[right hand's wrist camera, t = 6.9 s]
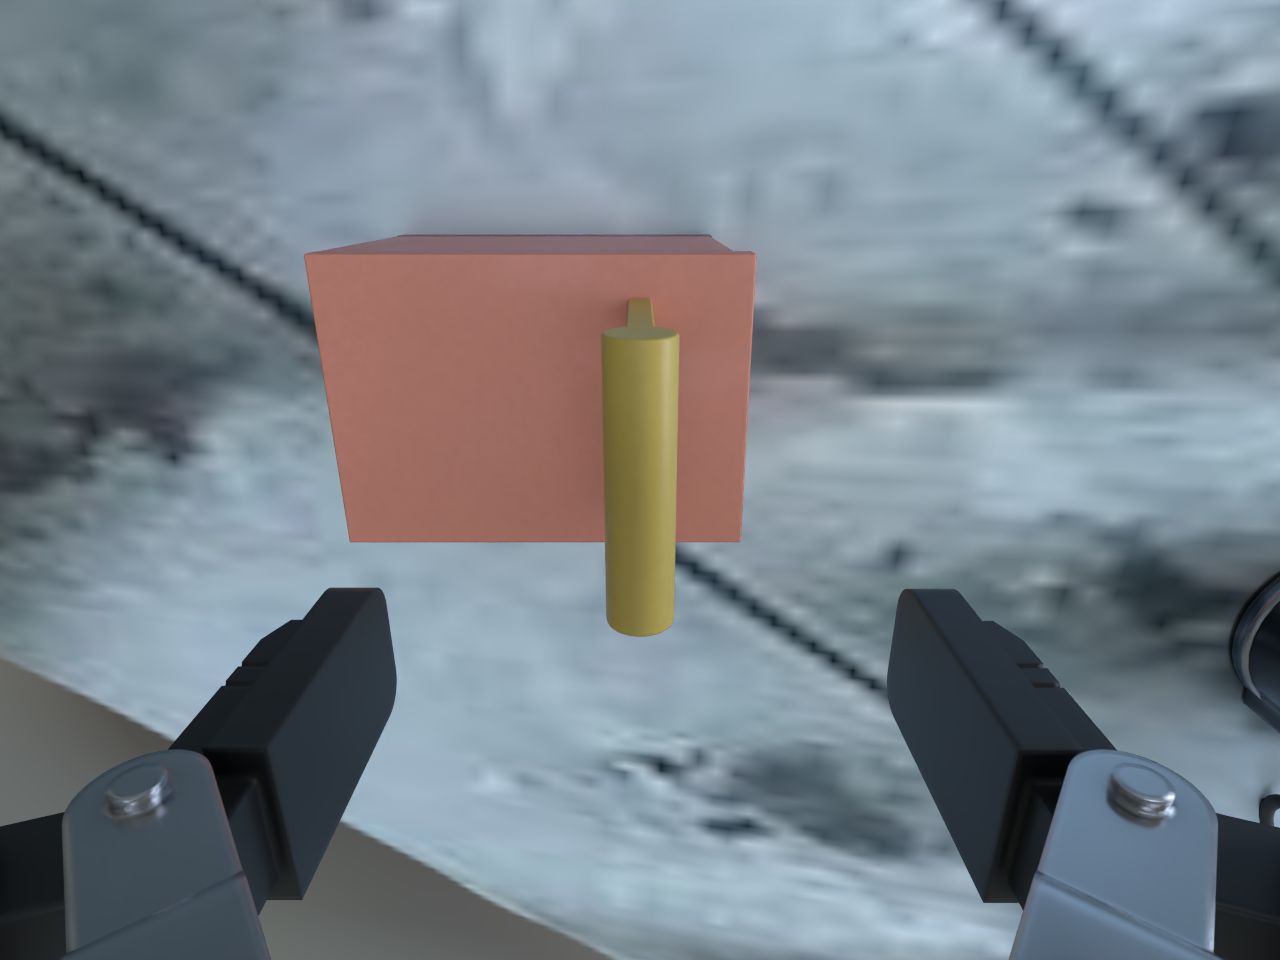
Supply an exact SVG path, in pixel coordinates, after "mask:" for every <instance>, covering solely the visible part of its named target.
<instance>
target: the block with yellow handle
mask: <svg viewBox="0 0 1280 960" xmlns="http://www.w3.org/2000/svg"><path fill="white" fill-rule="evenodd" d="M304 258H305V264H306V271H307V277H308V283H309V289H310V296H311V302H312V308H313V314H314V321H315V327H316V333H317V339H318V346H319V352H320V358H321V364H322V370H323V377H324V383H325V389H326V395H327V402H328V408H329V414H330V420H331V427H332V433H333V439H334V445H335V452H336V458H337V464H338V470H339V477H340V483H341V489H342V495H343V502H344V508H345V514H346V520H347V527H348V533H349V539H350V542H605V564H606V616H607V621H608V623H609V625H610V626H611V627H612V628H613V629H614V630H616V631H617V632H619V633H622V634H625V635H629V636H640V637H641V636H651V635H655V634H658V633H661V632H663V631H665V630H666V629H668V628H669V627H670V626H671V624H672V622H673V620H674V587H675V542H740V541H741V526H742V508H743V490H744V472H745V454H746V436H747V418H748V400H749V382H750V364H751V346H752V328H753V310H754V292H755V274H756V254H755V253H753V252H751V251H318V252H312V253H307V254H304Z"/></svg>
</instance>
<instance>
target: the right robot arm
mask: <svg viewBox="0 0 1280 960" xmlns="http://www.w3.org/2000/svg"><path fill="white" fill-rule="evenodd" d="M1232 657H1233V664H1234V668H1235V671H1236V673H1237V675H1238V677H1239V679H1240V680H1241V682H1242V683H1243V684H1244V685H1245V687H1247V690H1246V695H1245V698H1244V703H1245V705H1247V706H1248V707H1249V708H1250V709H1251V710H1253V711H1254V712H1255V713H1256V714H1257V715H1258V716H1260V717H1261V718H1262V719H1263V720H1264V721H1266V722H1267V723H1268V724H1269V725H1270V726H1271V727H1273V728H1274V729H1275V730H1276V731H1277V732H1279V733H1280V576H1279V577H1278V578H1277V579H1275V580H1274V581H1273V582H1272V583H1270V584H1269V585H1268V586H1267V587H1266V588H1265V589H1264V590H1263V591H1262V592H1261V593H1260V594H1259V595H1258V596H1257V597H1256V598H1255V599H1254V601H1253V602H1252V603H1251V604H1250V606H1249V607H1248V609H1247V610H1246V612H1245V613H1244V615H1243V617H1242V618H1241V620H1240V623H1239V625H1238V627H1237V630H1236V633H1235V636H1234V640H1233V647H1232ZM396 684H397V677H396V667H395V660H394V653H393V646H392V639H391V632H390V626H389V619H388V612H387V605H386V600H385V596H384V594H383V592H382V590H381V589H380V588H329V589H327V590H326V591H325V592H324V593H323V594H322V596H321V597H320V598H319V599H318V601H317V602H316V603H315V605H314V606H313V607H312V608H311V610H310V611H309V612H308V613H307V615H306V616H305V617H304V619H303V620H290V621H289V622H287V623H286V624H284V625H283V626H281V627H280V628H278V629H276V630H275V631H273V632H272V633H270V634H269V635H267V636H266V637H264V638H262V639H261V640H260V641H259V642H258V644H257V645H256V646H255V647H254V648H253V650H252V651H251V652H250V653H249V654H248V655H247V657H246V658H245V659H244V660H243V661H242V666H241V667H237V668H236V670H235V671H234V672H233V673H232V674H231V676H230V677H229V678H228V679H227V680H226V685H225V686H221V687H220V689H219V690H218V691H217V692H216V693H215V694H214V696H213V697H212V698H211V699H210V700H209V702H208V703H207V704H206V705H205V706H204V707H203V709H202V710H201V711H200V712H199V713H198V715H197V716H196V717H195V718H194V719H193V720H192V722H191V723H190V724H189V725H188V726H187V728H186V729H185V730H184V731H183V732H182V733H181V735H180V736H179V737H178V738H177V739H176V741H175V742H174V743H173V744H172V745H171V747H170V748H169V749H168V750H164V751H158V752H153V753H149V754H145V755H142V756H139V757H136V758H133V759H131V760H128V761H126V762H123V763H121V764H119V765H117V766H115V767H113V768H111V769H110V770H108V771H106V772H105V773H103V774H101V775H100V776H98V777H97V778H96V779H94V780H93V781H91V782H90V783H89V784H88V785H86V786H85V787H84V788H83V789H82V790H81V791H80V792H79V793H78V794H77V795H76V796H75V797H74V798H73V800H72V801H71V802H70V804H69V805H68V807H67V809H66V811H65V812H63V813H58V814H54V815H50V816H45V817H41V818H36V819H32V820H27V821H23V822H19V823H14V824H10V825H5V826H1V827H0V960H271V957H270V954H269V950H268V947H267V944H266V941H265V937H264V934H263V931H262V927H261V924H260V921H259V917H258V916H259V914H260V912H261V910H262V908H263V906H264V904H265V902H266V900H302V899H303V897H304V895H305V893H306V890H307V888H308V886H309V884H310V882H311V880H312V878H313V876H314V874H315V872H316V870H317V867H318V865H319V863H320V861H321V859H322V857H323V855H324V853H325V851H326V849H327V846H328V844H329V842H330V840H331V838H332V836H333V834H334V832H335V830H336V827H337V826H338V823H339V821H340V819H341V817H342V815H343V813H344V811H345V809H346V807H347V805H348V802H349V800H350V798H351V796H352V794H353V792H354V790H355V788H356V786H357V784H358V782H359V779H360V777H361V775H362V773H363V771H364V769H365V767H366V765H367V763H368V761H369V758H370V756H371V754H372V752H373V750H374V748H375V746H376V744H377V742H378V740H379V738H380V735H381V733H382V731H383V729H384V727H385V725H386V723H387V721H388V719H389V717H390V714H391V712H392V709H393V705H394V701H395V695H396ZM887 690H888V699H889V704H890V708H891V711H892V714H893V716H894V718H895V721H896V723H897V725H898V727H899V729H900V731H901V733H902V735H903V737H904V739H905V741H906V743H907V745H908V747H909V750H910V752H911V754H912V756H913V758H914V760H915V762H916V764H917V766H918V768H919V770H920V772H921V774H922V776H923V779H924V781H925V783H926V785H927V787H928V789H929V791H930V793H931V795H932V797H933V799H934V801H935V803H936V805H937V808H938V810H939V812H940V814H941V816H942V818H943V820H944V822H945V824H946V826H947V828H948V830H949V832H950V834H951V836H952V839H953V841H954V843H955V845H956V847H957V849H958V851H959V853H960V855H961V857H962V859H963V861H964V863H965V865H966V868H967V870H968V872H969V874H970V876H971V878H972V880H973V882H974V884H975V886H976V888H977V890H978V892H979V894H980V897H981V899H982V901H983V903H1019V904H1020V905H1021V907H1022V909H1023V914H1022V917H1021V921H1020V924H1019V927H1018V931H1017V934H1016V937H1015V940H1014V944H1013V947H1012V950H1011V954H1010V957H1009V960H1280V828H1278V827H1274V821H1273V817H1274V812H1275V811H1276V810H1277V809H1279V808H1280V795H1279V794H1273V795H1269V796H1267V797H1266V798H1265V799H1263V801H1262V802H1261V804H1260V808H1259V818H1260V823H1256V822H1252V821H1247V820H1243V819H1239V818H1234V817H1230V816H1225V815H1222V814H1218V813H1215V811H1214V808H1213V807H1212V805H1211V804H1210V802H1209V801H1208V800H1207V798H1206V797H1205V796H1204V795H1203V794H1202V793H1201V792H1200V791H1199V790H1198V789H1197V788H1196V787H1195V786H1194V785H1192V784H1191V783H1190V782H1189V781H1187V780H1186V779H1185V778H1183V777H1182V776H1180V775H1179V774H1177V773H1175V772H1174V771H1172V770H1170V769H1169V768H1167V767H1165V766H1163V765H1161V764H1159V763H1157V762H1154V761H1152V760H1149V759H1147V758H1144V757H1141V756H1138V755H1135V754H1131V753H1127V752H1122V751H1117V750H1116V749H1115V747H1114V746H1113V745H1112V744H1111V743H1110V741H1109V740H1108V739H1107V738H1106V737H1105V736H1104V734H1103V733H1102V732H1101V731H1100V730H1099V729H1098V727H1097V726H1096V725H1095V724H1094V723H1093V722H1092V720H1091V719H1090V718H1089V717H1088V716H1087V715H1086V713H1085V712H1084V711H1083V710H1082V709H1081V708H1080V706H1079V705H1078V704H1077V703H1076V702H1075V700H1074V699H1073V698H1072V697H1071V696H1070V695H1069V693H1068V692H1067V691H1066V690H1065V689H1064V688H1060V686H1059V682H1058V681H1057V679H1056V678H1055V677H1054V676H1053V675H1052V674H1051V672H1050V671H1049V670H1048V669H1047V668H1043V663H1042V662H1041V661H1040V660H1039V658H1038V657H1037V656H1036V655H1035V654H1034V652H1033V651H1032V650H1031V649H1030V648H1029V647H1028V645H1027V644H1026V643H1025V642H1024V641H1023V640H1022V639H1020V638H1018V637H1017V636H1015V635H1014V634H1012V633H1011V632H1009V631H1007V630H1006V629H1004V628H1003V627H1001V626H1000V625H998V624H997V623H995V622H993V621H982V620H981V619H980V618H979V617H978V615H977V614H976V613H975V612H974V610H973V609H972V608H971V607H970V605H969V604H968V603H967V602H966V600H965V599H964V598H963V597H962V595H961V594H960V593H959V592H958V591H957V590H955V589H905V590H903V591H902V593H901V595H900V597H899V600H898V605H897V612H896V619H895V626H894V632H893V639H892V646H891V653H890V660H889V666H888V674H887Z"/></svg>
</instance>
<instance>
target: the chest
mask: <svg viewBox="0 0 1280 960" xmlns="http://www.w3.org/2000/svg"><path fill="white" fill-rule="evenodd" d="M324 251H732V250H731V249H729V248H727V247H726V246H724V245H723V244H721V243H719V242H718V241H716V240H715V239H713V238H712V236H710V235H401V236H398V237H393V238H388V239H383V240H377V241H372V242H367V243H361V244H356V245H351V246H345V247H340V248H335V249H329V250H324Z"/></svg>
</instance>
